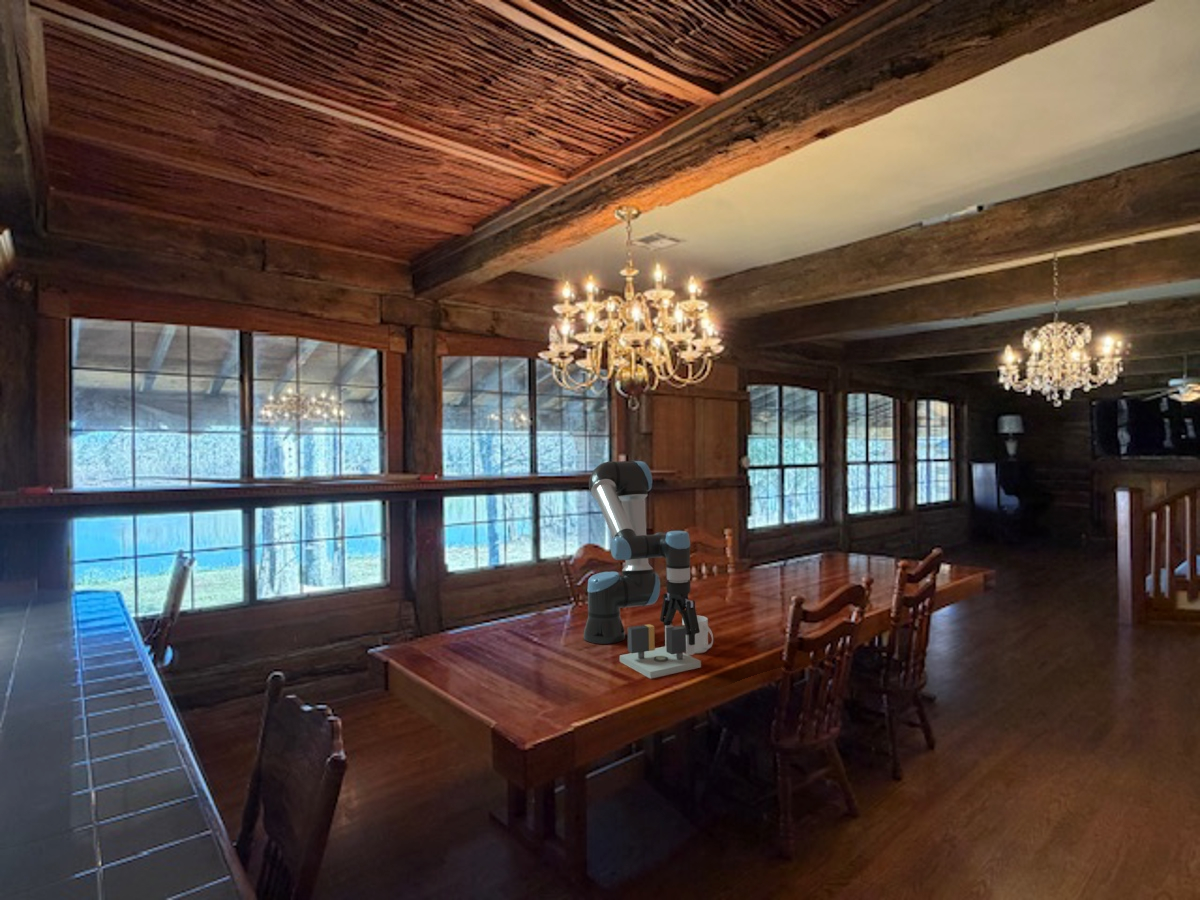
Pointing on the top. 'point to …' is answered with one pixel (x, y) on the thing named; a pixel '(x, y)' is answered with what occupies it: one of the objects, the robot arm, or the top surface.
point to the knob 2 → (676, 640)
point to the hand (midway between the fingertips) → (679, 649)
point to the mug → (702, 635)
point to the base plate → (659, 663)
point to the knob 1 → (641, 639)
